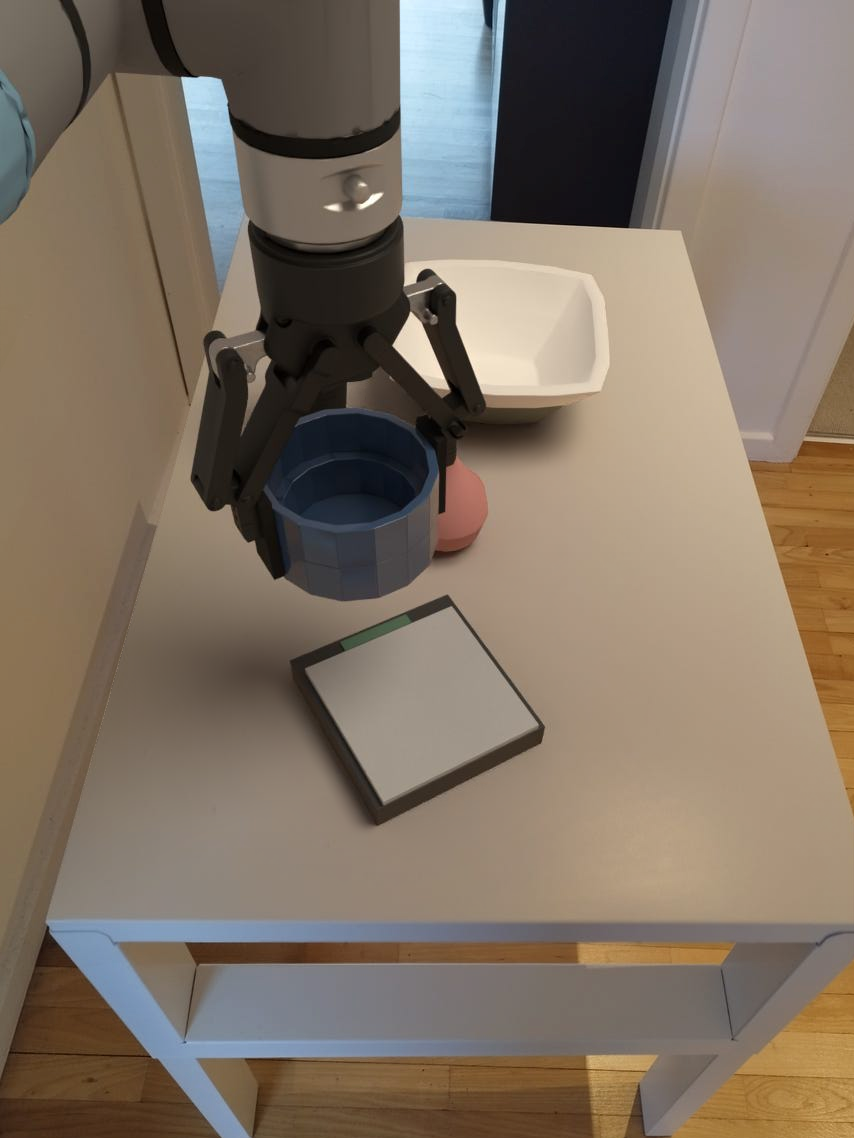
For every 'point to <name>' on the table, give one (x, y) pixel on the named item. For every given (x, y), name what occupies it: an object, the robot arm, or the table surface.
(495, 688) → the scale
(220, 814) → the table surface
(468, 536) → the pink bud vase
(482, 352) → the bowl
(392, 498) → the blue bowl
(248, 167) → the robot arm
